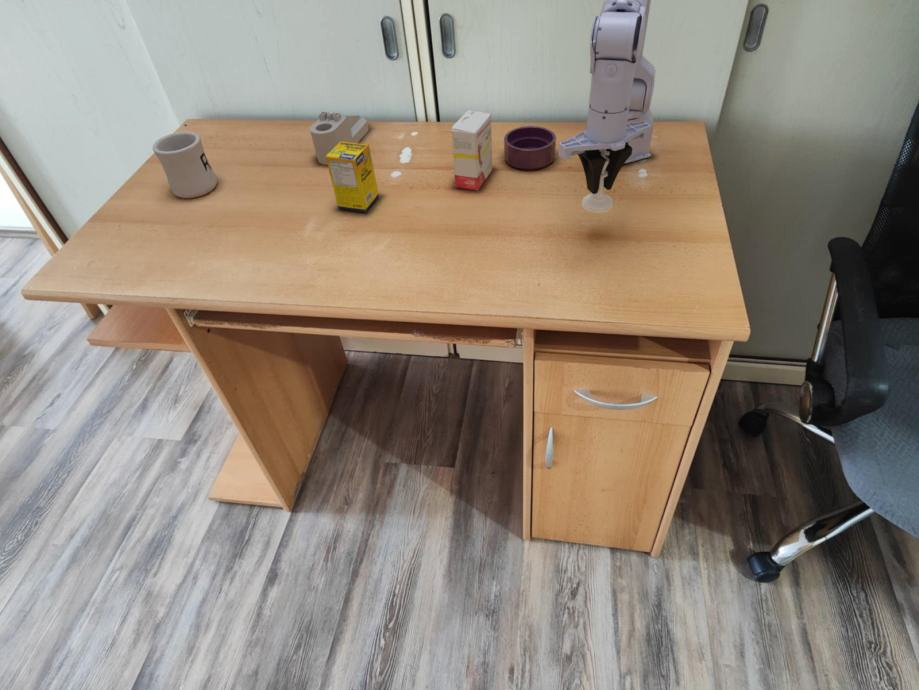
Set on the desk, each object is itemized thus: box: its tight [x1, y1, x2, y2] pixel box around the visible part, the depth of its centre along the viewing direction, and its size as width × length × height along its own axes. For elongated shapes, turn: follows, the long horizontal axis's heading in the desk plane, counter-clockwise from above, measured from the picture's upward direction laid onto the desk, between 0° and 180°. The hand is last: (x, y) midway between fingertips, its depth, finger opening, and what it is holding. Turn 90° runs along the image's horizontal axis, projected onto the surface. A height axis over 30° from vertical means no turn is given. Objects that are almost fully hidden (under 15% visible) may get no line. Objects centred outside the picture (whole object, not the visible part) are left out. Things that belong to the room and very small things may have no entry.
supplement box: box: [326, 141, 380, 214], centre depth 107 cm, size 6×6×11 cm
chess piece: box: [581, 149, 614, 214], centre depth 92 cm, size 5×5×10 cm
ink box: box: [451, 109, 493, 192], centre depth 111 cm, size 9×5×12 cm, turn 157°
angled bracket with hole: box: [309, 111, 370, 166], centre depth 126 cm, size 6×18×8 cm, turn 163°
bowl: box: [503, 125, 557, 171], centre depth 117 cm, size 10×10×4 cm
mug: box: [152, 131, 218, 199], centre depth 117 cm, size 12×9×10 cm
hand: (599, 188), depth 93 cm, fingers closed on chess piece
